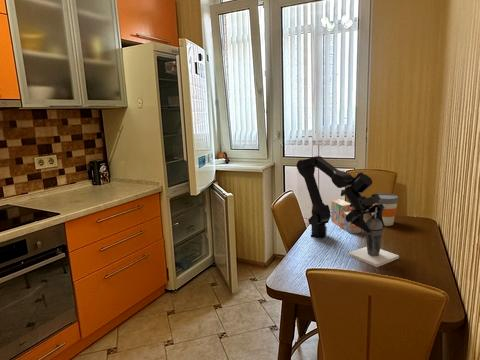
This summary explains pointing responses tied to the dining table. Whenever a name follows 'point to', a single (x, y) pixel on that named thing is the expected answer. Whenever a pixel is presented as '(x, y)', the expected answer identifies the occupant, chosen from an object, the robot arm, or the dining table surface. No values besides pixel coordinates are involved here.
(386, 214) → the reusable coffee cup
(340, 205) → the patterned box
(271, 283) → the dining table surface
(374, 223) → the beverage cup
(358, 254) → the board
